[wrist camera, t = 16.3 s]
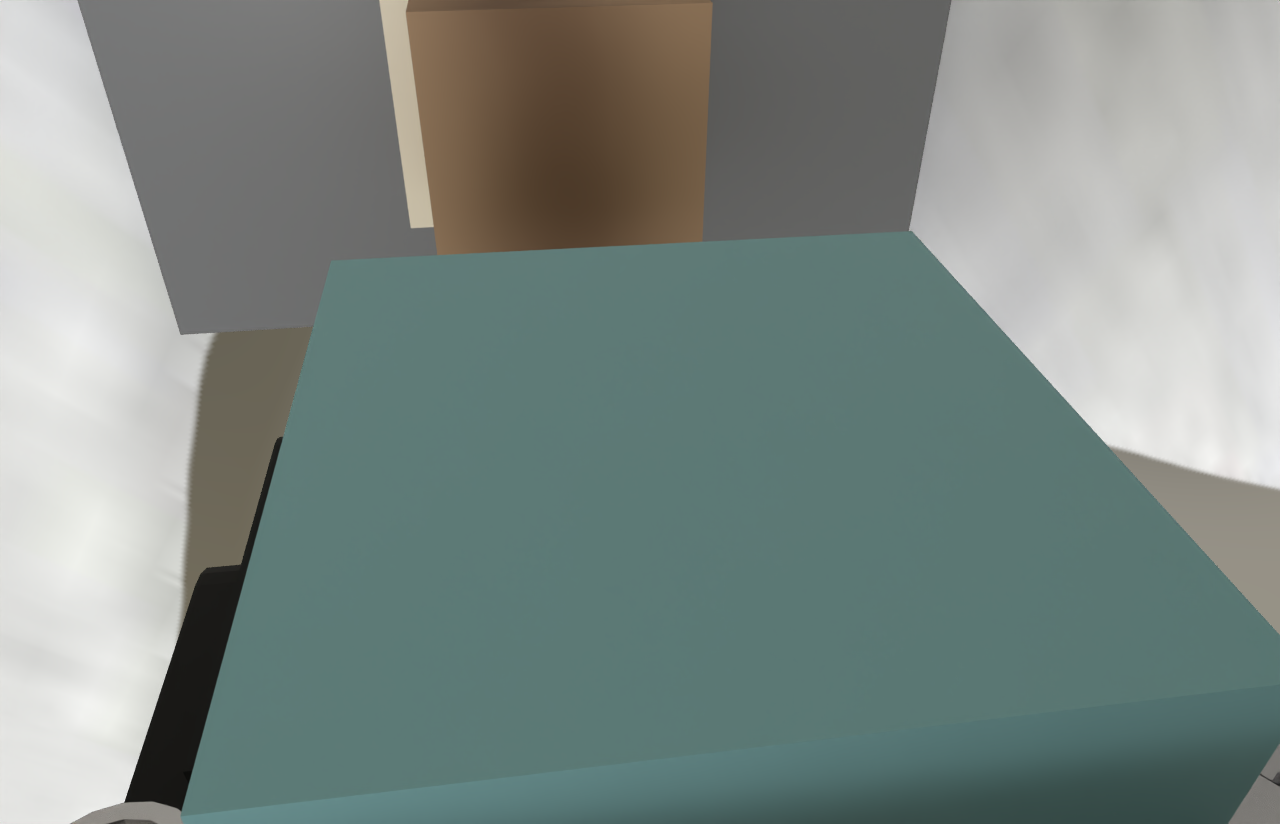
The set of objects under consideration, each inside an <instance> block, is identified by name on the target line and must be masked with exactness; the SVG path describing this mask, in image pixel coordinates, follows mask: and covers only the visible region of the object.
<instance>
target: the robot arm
mask: <svg viewBox="0 0 1280 824" xmlns="http://www.w3.org/2000/svg"><path fill="white" fill-rule="evenodd" d="M282 440H283V437H279V438H278V439H277V440H276V443H275V445H274V449H273V453H272V456H271V459H270V463H269V467H268V470H267V474H266V477H265V481H264V484H263V488H262V492H261V495H260V499H259V502H258V506H257V510H256V514H255V517H254V521H253V524H252V527H251V531H250V535H249V538H248V542H247V545H246V549H245V552H244V556H243V560H242V563H241V565H234V566H222V567H212V568H206V569H205V570H204V571H203V572H202V573H201V574H200V577H199V579H198V581H197V583H196V586H195V588H194V591H193V595H192V598H191V600H190V604H189V607H188V610H187V613H186V616H185V619H184V622H183V625H182V628H181V631H180V634H179V637H178V640H177V643H176V646H175V649H174V652H173V655H172V658H171V662H170V665H169V668H168V671H167V674H166V677H165V680H164V683H163V686H162V689H161V692H160V695H159V698H158V701H157V704H156V707H155V710H154V714H153V717H152V720H151V723H150V726H149V729H148V732H147V735H146V738H145V741H144V744H143V747H142V750H141V753H140V756H139V759H138V762H137V765H136V769H135V772H134V775H133V778H132V781H131V784H130V787H129V790H128V793H127V796H126V799H125V802H124V803H121V804H118V805H114V806H111V807H107V808H104V809H100V810H97V811H94V812H91V813H89V814H88V815H86V816H84V817H82V818H80V819H78V820H76V821H74V822H72V823H71V824H183V822H182V819H181V817H180V815H181V812H182V808H183V804H184V801H185V797H186V793H187V790H188V786H189V782H190V779H191V775H192V771H193V768H194V764H195V760H196V757H197V753H198V749H199V745H200V742H201V738H202V734H203V731H204V727H205V723H206V720H207V716H208V712H209V709H210V705H211V701H212V698H213V694H214V690H215V687H216V683H217V679H218V676H219V672H220V668H221V664H222V661H223V657H224V653H225V650H226V646H227V642H228V639H229V635H230V631H231V628H232V624H233V620H234V617H235V613H236V609H237V606H238V602H239V598H240V595H241V591H242V587H243V583H244V580H245V576H246V572H247V569H248V565H249V561H250V558H251V554H252V550H253V547H254V543H255V539H256V536H257V532H258V528H259V525H260V521H261V517H262V514H263V510H264V506H265V502H266V499H267V495H268V491H269V488H270V484H271V480H272V477H273V473H274V469H275V466H276V462H277V458H278V455H279V451H280V447H281V444H282ZM1228 824H1280V743H1279V745H1278V747H1277V748H1276V750H1275V751H1274V753H1273V754H1272V756H1271V757H1270V759H1269V761H1268V762H1267V764H1266V765H1265V767H1264V768H1263V770H1262V771H1261V773H1260V775H1259V776H1258V778H1257V779H1256V781H1255V782H1254V784H1253V786H1252V787H1251V789H1250V790H1249V792H1248V793H1247V795H1246V796H1245V798H1244V800H1243V801H1242V803H1241V804H1240V806H1239V807H1238V809H1237V810H1236V812H1235V814H1234V815H1233V817H1232V818H1231V820H1230V821H1229V823H1228Z"/></svg>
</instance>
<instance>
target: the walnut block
mask: <svg viewBox="0 0 1280 824" xmlns="http://www.w3.org/2000/svg"><path fill="white" fill-rule="evenodd" d="M712 7H713V3H712V2H711V1H710V0H408V4H407V8H406V20H407V27H408V35H409V43H410V50H411V58H412V65H413V73H414V81H415V88H416V96H417V103H418V111H419V119H420V126H421V134H422V142H423V149H424V157H425V164H426V172H427V180H428V187H429V195H430V202H431V210H432V218H433V225H434V233H435V240H436V248H437V255H451V254H470V253H490V252H510V251H529V250H549V249H569V248H589V247H608V246H628V245H648V244H667V243H687V242H702V237H703V214H704V191H705V168H706V145H707V122H708V99H709V76H710V53H711V30H712Z"/></svg>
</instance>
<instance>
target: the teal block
mask: <svg viewBox="0 0 1280 824" xmlns="http://www.w3.org/2000/svg"><path fill="white" fill-rule="evenodd" d="M1279 743H1280V635H1279V634H1278V633H1277V632H1276V630H1275V629H1274V628H1273V627H1272V626H1271V625H1270V624H1269V623H1268V622H1267V621H1266V619H1265V618H1264V617H1263V616H1262V615H1261V614H1260V613H1259V612H1258V611H1257V610H1256V609H1255V607H1254V606H1253V605H1252V604H1251V603H1250V602H1249V601H1248V600H1247V599H1246V598H1245V597H1244V595H1242V593H1241V592H1240V591H1239V590H1238V589H1237V588H1236V587H1235V585H1234V584H1233V583H1232V582H1231V581H1230V580H1229V579H1228V578H1227V577H1226V576H1225V575H1224V573H1223V572H1222V571H1221V570H1220V569H1219V568H1218V567H1217V566H1216V565H1215V564H1214V562H1213V561H1212V560H1211V559H1210V558H1209V557H1208V556H1207V555H1206V554H1205V553H1204V551H1202V549H1201V548H1200V547H1199V546H1198V545H1197V544H1196V543H1195V542H1194V540H1193V539H1192V538H1191V537H1190V536H1189V535H1188V534H1187V533H1186V532H1185V531H1184V529H1183V528H1182V527H1181V526H1180V525H1179V524H1178V523H1177V522H1176V521H1175V520H1174V519H1173V518H1172V516H1171V515H1170V514H1169V513H1168V512H1167V511H1166V510H1165V509H1164V508H1163V507H1162V505H1161V504H1160V503H1159V502H1158V501H1157V500H1156V499H1155V498H1154V497H1153V496H1152V494H1151V493H1150V492H1149V491H1148V490H1147V489H1146V488H1145V487H1144V486H1143V485H1142V483H1141V482H1140V481H1139V480H1138V479H1137V478H1136V477H1135V476H1134V475H1133V473H1132V472H1131V471H1130V470H1129V469H1128V468H1127V467H1126V466H1125V465H1124V464H1123V463H1122V461H1121V460H1120V459H1119V458H1118V457H1117V456H1116V455H1115V454H1114V453H1113V452H1112V450H1111V449H1110V448H1109V447H1108V446H1107V445H1106V444H1105V443H1104V442H1103V441H1102V439H1101V438H1100V437H1099V436H1098V435H1097V434H1096V433H1095V432H1094V431H1093V430H1092V428H1091V427H1090V426H1089V425H1088V424H1087V423H1086V422H1085V421H1084V420H1083V419H1082V418H1081V416H1080V415H1079V414H1078V413H1077V412H1076V411H1075V410H1074V409H1073V408H1072V407H1071V405H1070V404H1069V403H1068V402H1067V401H1066V400H1065V399H1064V398H1063V397H1062V396H1061V394H1060V393H1059V392H1058V391H1057V390H1056V389H1055V388H1054V387H1053V386H1052V385H1051V383H1050V382H1049V381H1048V380H1047V379H1046V378H1045V377H1044V376H1043V375H1042V374H1041V373H1040V371H1039V370H1038V369H1037V368H1036V367H1035V366H1034V365H1033V364H1032V363H1031V362H1030V360H1029V359H1028V358H1027V357H1026V356H1025V355H1024V354H1023V353H1022V352H1021V351H1020V349H1019V348H1018V347H1017V346H1016V345H1015V344H1014V343H1013V342H1012V341H1011V340H1010V338H1009V337H1008V336H1007V335H1006V334H1005V333H1004V332H1003V331H1002V330H1001V329H1000V328H999V326H998V325H997V324H996V323H995V322H994V321H993V320H992V319H991V318H990V317H989V315H988V314H987V313H986V312H985V311H984V310H983V309H982V308H981V307H980V306H979V304H978V303H977V302H976V301H975V300H974V299H973V298H972V297H971V296H970V295H969V293H968V292H967V291H966V290H965V289H964V288H963V287H962V286H961V285H960V284H959V282H958V281H957V280H956V279H955V278H954V277H953V276H952V275H951V274H950V273H949V272H948V270H947V269H946V268H945V267H944V266H943V265H942V264H941V263H940V262H939V261H938V259H937V258H936V257H935V256H934V255H933V254H932V253H931V252H930V251H929V250H928V248H927V247H926V246H925V245H924V244H923V243H922V242H921V241H920V240H919V239H918V237H917V236H916V235H915V234H914V233H913V232H912V231H904V232H884V233H864V234H845V235H825V236H805V237H786V238H766V239H746V240H726V241H707V242H687V243H667V244H648V245H628V246H608V247H589V248H569V249H549V250H529V251H510V252H490V253H470V254H451V255H431V256H411V257H392V258H372V259H352V260H332V261H331V263H330V267H329V271H328V274H327V278H326V282H325V285H324V289H323V293H322V296H321V300H320V304H319V307H318V311H317V315H316V318H315V322H314V326H313V330H312V333H311V337H310V341H309V344H308V348H307V352H306V355H305V359H304V363H303V366H302V370H301V374H300V378H299V381H298V385H297V388H296V392H295V396H294V399H293V403H292V407H291V411H290V414H289V418H288V422H287V426H286V429H285V433H284V436H283V440H282V444H281V447H280V451H279V455H278V458H277V462H276V466H275V469H274V473H273V477H272V480H271V484H270V488H269V491H268V495H267V499H266V502H265V506H264V510H263V514H262V517H261V521H260V525H259V528H258V532H257V536H256V539H255V543H254V547H253V550H252V554H251V558H250V561H249V565H248V569H247V572H246V576H245V580H244V583H243V587H242V591H241V595H240V598H239V602H238V606H237V609H236V613H235V617H234V620H233V624H232V628H231V631H230V635H229V639H228V642H227V646H226V650H225V653H224V657H223V661H222V664H221V668H220V672H219V676H218V679H217V683H216V687H215V690H214V694H213V698H212V701H211V705H210V709H209V712H208V716H207V720H206V723H205V727H204V731H203V734H202V738H201V742H200V745H199V749H198V753H197V757H196V760H195V764H194V768H193V771H192V775H191V779H190V782H189V786H188V790H187V793H186V797H185V801H184V804H183V808H182V812H181V815H180V817H181V819H182V822H183V824H1228V823H1229V821H1230V820H1231V818H1232V817H1233V815H1234V814H1235V812H1236V810H1237V809H1238V807H1239V806H1240V804H1241V803H1242V801H1243V800H1244V798H1245V796H1246V795H1247V793H1248V792H1249V790H1250V789H1251V787H1252V786H1253V784H1254V782H1255V781H1256V779H1257V778H1258V776H1259V775H1260V773H1261V771H1262V770H1263V768H1264V767H1265V765H1266V764H1267V762H1268V761H1269V759H1270V757H1271V756H1272V754H1273V753H1274V751H1275V750H1276V748H1277V747H1278V745H1279Z"/></svg>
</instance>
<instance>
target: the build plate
mask: <svg viewBox="0 0 1280 824" xmlns="http://www.w3.org/2000/svg"><path fill="white" fill-rule="evenodd" d="M710 1H711V2H712V3H713V7H712V30H711V53H710V76H709V99H708V122H707V145H706V168H705V191H704V214H703V237H702V242H707V241H726V240H746V239H766V238H786V237H805V236H825V235H845V234H864V233H884V232H904V231H909V226H910V221H911V215H912V210H913V205H914V199H915V194H916V188H917V183H918V178H919V172H920V167H921V161H922V156H923V151H924V145H925V140H926V134H927V129H928V124H929V118H930V113H931V107H932V102H933V96H934V91H935V86H936V80H937V75H938V69H939V64H940V59H941V53H942V48H943V42H944V37H945V32H946V26H947V21H948V15H949V10H950V5H951V0H710ZM78 3H79V7H80V10H81V13H82V16H83V20H84V23H85V26H86V29H87V33H88V36H89V39H90V42H91V46H92V49H93V52H94V55H95V58H96V62H97V65H98V68H99V71H100V75H101V78H102V81H103V84H104V88H105V91H106V94H107V97H108V101H109V104H110V107H111V110H112V114H113V117H114V120H115V123H116V127H117V130H118V133H119V136H120V139H121V143H122V146H123V149H124V152H125V156H126V159H127V162H128V165H129V169H130V172H131V175H132V178H133V182H134V185H135V188H136V191H137V195H138V198H139V201H140V204H141V208H142V211H143V214H144V217H145V220H146V224H147V227H148V230H149V233H150V237H151V240H152V243H153V246H154V250H155V253H156V256H157V259H158V263H159V266H160V269H161V272H162V276H163V279H164V282H165V285H166V289H167V292H168V295H169V298H170V301H171V305H172V308H173V311H174V314H175V318H176V321H177V324H178V327H179V331H180V334H181V335H183V334H199V333H215V332H231V331H247V330H262V329H280V328H296V327H312V326H314V322H315V318H316V315H317V311H318V307H319V304H320V300H321V296H322V293H323V289H324V285H325V282H326V278H327V274H328V271H329V267H330V263H331V261H332V260H352V259H372V258H392V257H411V256H431V255H437V248H436V240H435V233H434V225H433V218H432V210H431V202H430V195H429V187H428V180H427V172H426V164H425V157H424V149H423V142H422V134H421V126H420V119H419V111H418V103H417V96H416V88H415V81H414V73H413V65H412V58H411V50H410V43H409V35H408V27H407V20H406V8H407V4H408V0H78Z"/></svg>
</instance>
